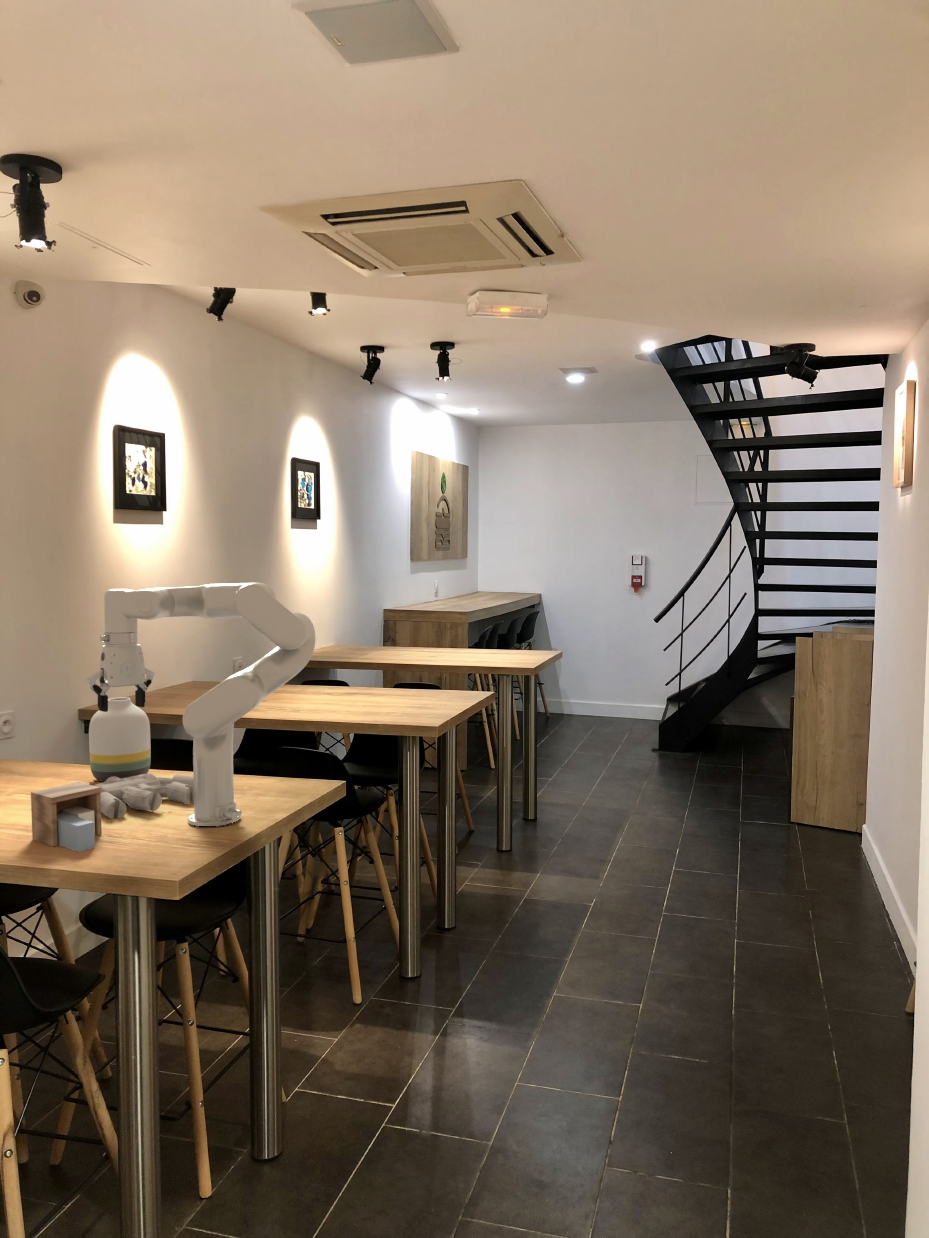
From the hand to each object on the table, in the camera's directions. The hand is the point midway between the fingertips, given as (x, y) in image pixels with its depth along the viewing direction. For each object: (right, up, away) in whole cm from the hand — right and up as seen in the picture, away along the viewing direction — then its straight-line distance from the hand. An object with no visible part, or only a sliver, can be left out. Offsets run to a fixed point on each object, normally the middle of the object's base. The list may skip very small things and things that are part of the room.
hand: (122, 708), depth 229 cm
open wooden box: (-9, -29, -11) cm, 32 cm away
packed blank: (-7, -29, -9) cm, 31 cm away
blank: (-5, -30, -17) cm, 34 cm away
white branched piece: (-4, -28, +22) cm, 35 cm away
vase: (-17, -26, +46) cm, 56 cm away
